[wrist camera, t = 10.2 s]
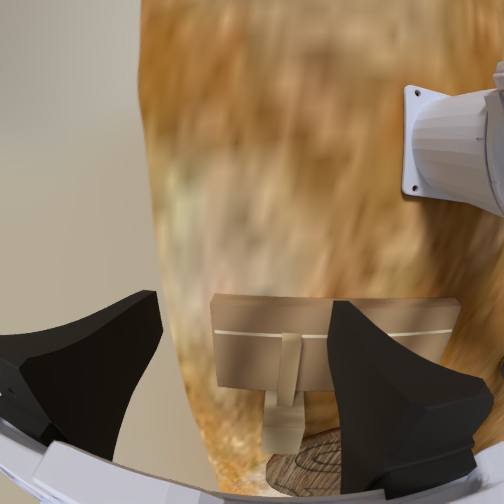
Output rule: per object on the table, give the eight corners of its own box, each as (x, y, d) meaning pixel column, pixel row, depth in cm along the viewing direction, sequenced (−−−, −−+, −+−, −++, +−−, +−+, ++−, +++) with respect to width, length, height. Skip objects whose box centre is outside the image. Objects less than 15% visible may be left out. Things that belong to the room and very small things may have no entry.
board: (453, 297, 20) (462, 306, 19) (424, 371, 24) (430, 382, 22) (214, 293, 22) (209, 304, 21) (221, 374, 25) (217, 386, 24)
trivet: (385, 484, 35) (387, 492, 33) (256, 488, 37) (255, 497, 35) (458, 408, 26) (462, 417, 24) (282, 415, 28) (281, 429, 26)
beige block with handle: (312, 319, 22) (319, 365, 17) (296, 417, 27) (296, 458, 22) (269, 318, 23) (265, 364, 17) (264, 416, 27) (260, 457, 22)
